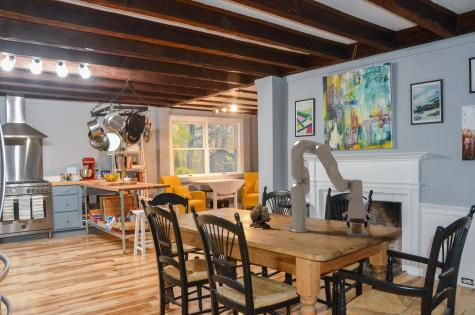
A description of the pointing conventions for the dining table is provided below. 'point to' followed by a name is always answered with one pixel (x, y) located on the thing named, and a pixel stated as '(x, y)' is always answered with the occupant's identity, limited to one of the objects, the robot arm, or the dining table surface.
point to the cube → (356, 228)
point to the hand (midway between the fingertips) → (356, 227)
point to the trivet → (357, 234)
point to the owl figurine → (260, 217)
